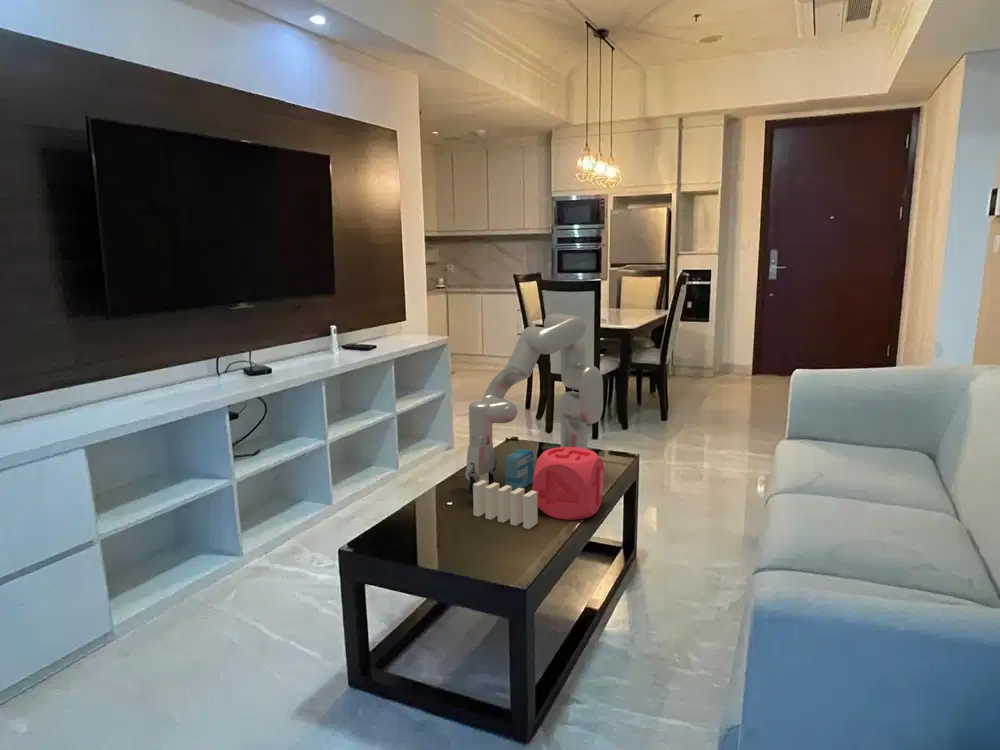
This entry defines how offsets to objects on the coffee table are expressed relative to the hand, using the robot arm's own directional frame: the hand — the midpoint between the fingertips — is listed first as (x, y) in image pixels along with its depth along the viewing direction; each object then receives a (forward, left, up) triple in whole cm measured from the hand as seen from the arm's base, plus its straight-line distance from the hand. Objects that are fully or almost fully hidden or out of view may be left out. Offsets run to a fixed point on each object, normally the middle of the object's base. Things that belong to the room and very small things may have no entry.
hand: (481, 490), depth 219 cm
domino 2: (+1, +12, -3) cm, 12 cm away
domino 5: (-10, +20, -3) cm, 23 cm away
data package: (-14, -12, -3) cm, 18 cm away
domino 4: (-6, +17, -3) cm, 19 cm away
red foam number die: (-27, +11, -3) cm, 30 cm away
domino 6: (-14, +23, -3) cm, 27 cm away
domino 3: (-3, +15, -3) cm, 15 cm away
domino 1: (0, 0, -3) cm, 3 cm away
